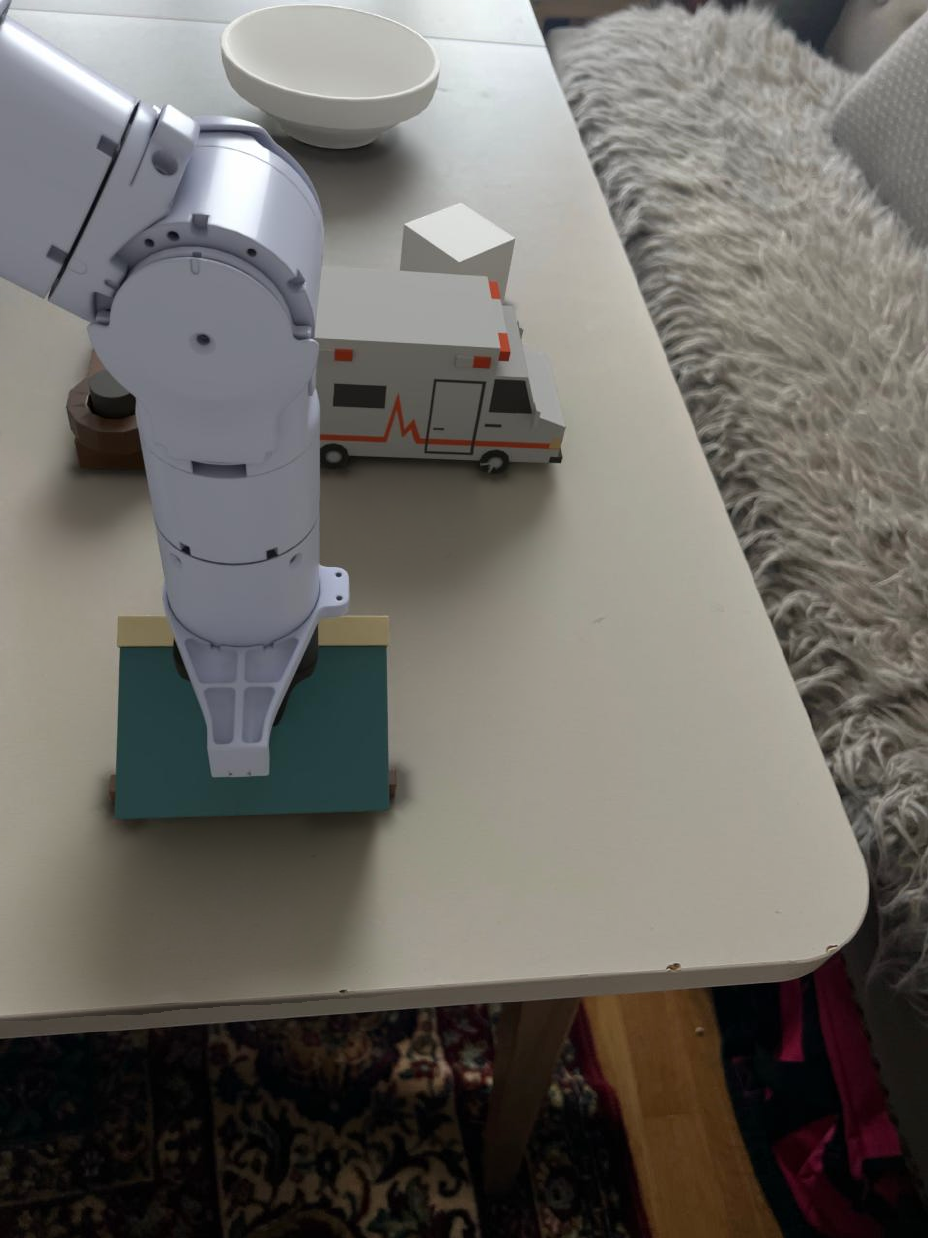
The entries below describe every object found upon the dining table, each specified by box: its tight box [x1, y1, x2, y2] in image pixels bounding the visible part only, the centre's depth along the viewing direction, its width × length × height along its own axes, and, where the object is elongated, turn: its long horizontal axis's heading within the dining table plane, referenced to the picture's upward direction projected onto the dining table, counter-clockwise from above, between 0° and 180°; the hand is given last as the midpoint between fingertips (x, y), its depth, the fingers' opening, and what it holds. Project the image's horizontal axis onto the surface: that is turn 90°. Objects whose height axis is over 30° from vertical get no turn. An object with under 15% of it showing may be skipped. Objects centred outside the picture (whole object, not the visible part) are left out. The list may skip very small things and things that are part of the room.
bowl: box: [219, 3, 442, 150], centre depth 93 cm, size 20×20×7 cm
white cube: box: [399, 202, 516, 305], centre depth 78 cm, size 6×6×6 cm
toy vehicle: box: [314, 265, 567, 475], centre depth 66 cm, size 10×17×10 cm, turn 95°
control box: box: [65, 348, 146, 471], centre depth 67 cm, size 10×15×4 cm
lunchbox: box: [114, 615, 390, 820], centre depth 48 cm, size 12×5×9 cm
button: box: [89, 369, 136, 419], centre depth 61 cm, size 3×3×2 cm
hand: (255, 718), depth 46 cm, fingers closed, pressing on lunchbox
